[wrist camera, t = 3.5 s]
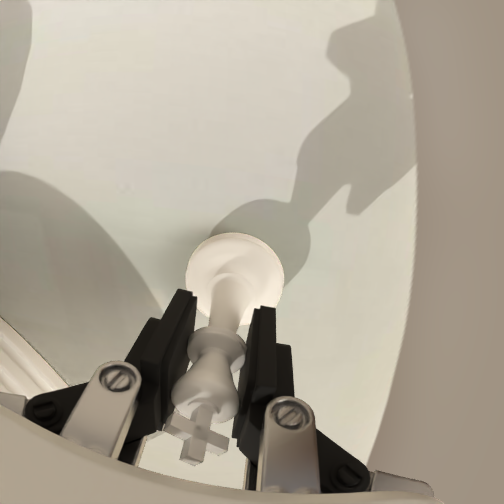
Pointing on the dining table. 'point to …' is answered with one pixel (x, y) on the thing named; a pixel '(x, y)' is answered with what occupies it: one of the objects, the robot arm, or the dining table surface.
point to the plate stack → (24, 367)
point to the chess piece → (220, 335)
